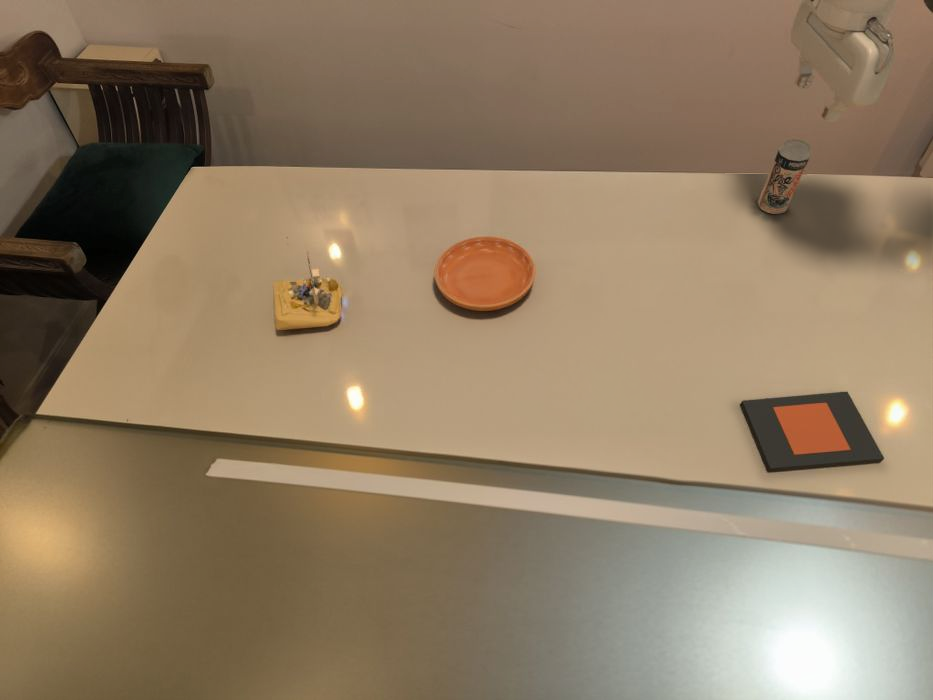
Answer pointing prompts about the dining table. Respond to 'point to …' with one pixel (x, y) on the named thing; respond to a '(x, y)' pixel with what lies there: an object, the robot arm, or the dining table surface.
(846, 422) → the mat
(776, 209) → the beer can
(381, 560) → the dining table surface
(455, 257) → the saucer
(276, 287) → the cake
